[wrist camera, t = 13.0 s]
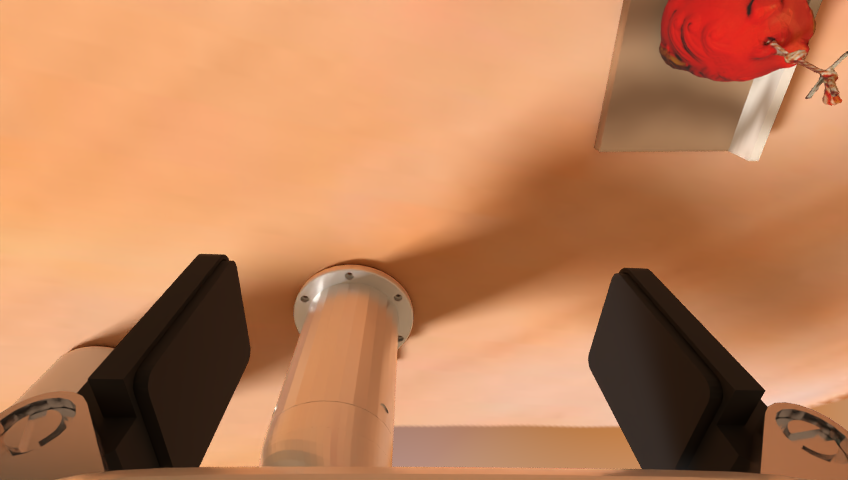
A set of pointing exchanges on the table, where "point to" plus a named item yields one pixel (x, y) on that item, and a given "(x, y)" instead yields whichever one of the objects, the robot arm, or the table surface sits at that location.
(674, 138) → the shelf board
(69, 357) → the cylinder vase
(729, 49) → the red clay folk toy
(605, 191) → the table surface
